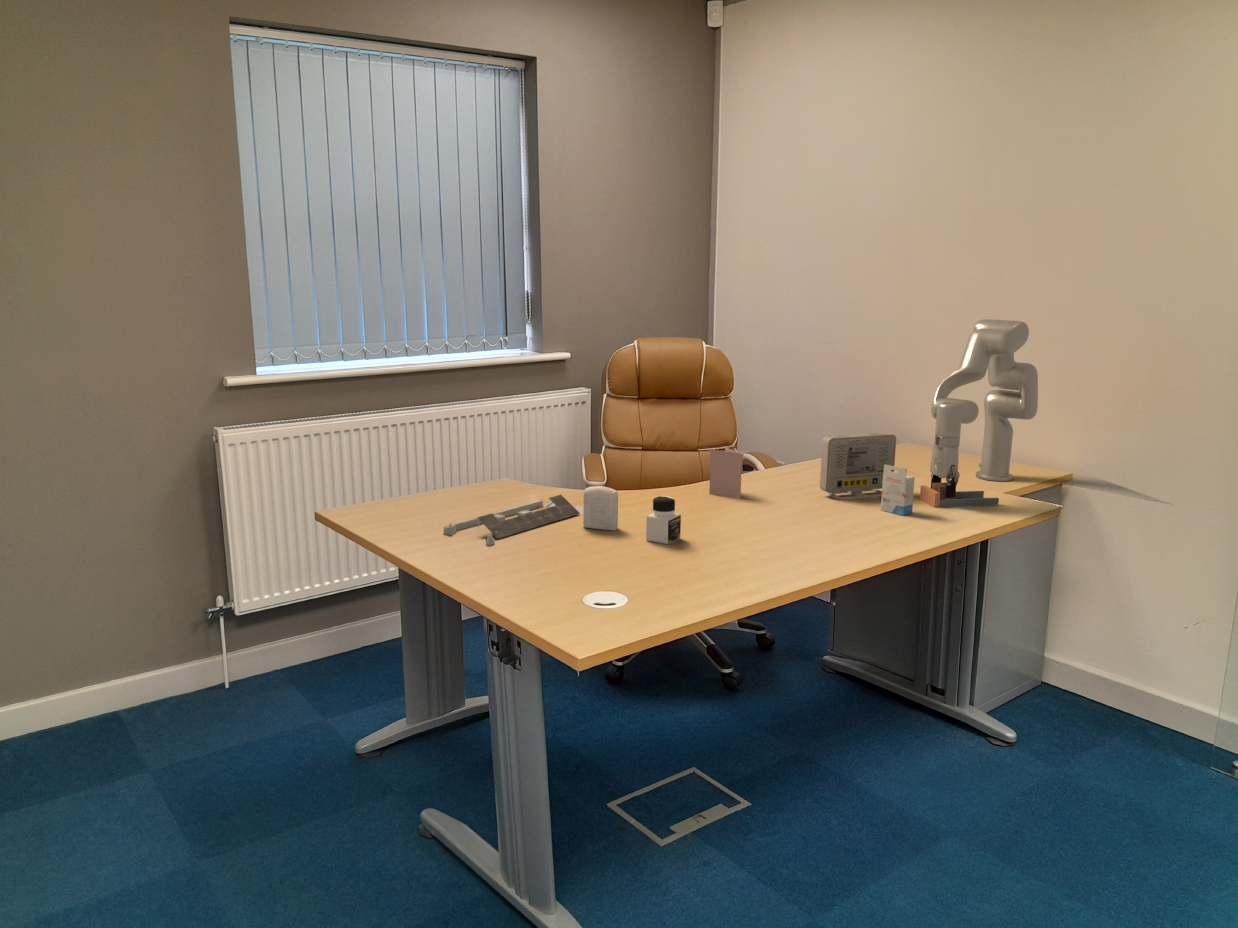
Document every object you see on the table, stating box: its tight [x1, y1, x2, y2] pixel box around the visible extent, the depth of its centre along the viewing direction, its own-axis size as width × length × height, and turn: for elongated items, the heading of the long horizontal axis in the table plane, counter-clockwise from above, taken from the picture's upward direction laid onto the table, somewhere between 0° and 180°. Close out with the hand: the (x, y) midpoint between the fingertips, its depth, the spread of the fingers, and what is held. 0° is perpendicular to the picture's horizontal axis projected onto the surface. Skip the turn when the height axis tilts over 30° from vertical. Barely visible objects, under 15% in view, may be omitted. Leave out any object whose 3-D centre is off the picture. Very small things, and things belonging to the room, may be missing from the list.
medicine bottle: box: [645, 495, 682, 545], centre depth 255 cm, size 7×7×12 cm
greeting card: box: [708, 446, 743, 499], centre depth 303 cm, size 11×7×15 cm, turn 22°
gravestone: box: [582, 485, 619, 531], centre depth 265 cm, size 10×4×12 cm, turn 72°
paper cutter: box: [443, 494, 584, 546], centre depth 271 cm, size 18×45×6 cm, turn 140°
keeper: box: [932, 482, 954, 499], centre depth 296 cm, size 5×5×6 cm
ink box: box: [880, 465, 916, 516], centre depth 284 cm, size 8×5×15 cm, turn 39°
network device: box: [819, 432, 897, 500], centre depth 304 cm, size 26×9×20 cm, turn 108°
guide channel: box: [919, 485, 1000, 508], centre depth 297 cm, size 10×22×4 cm, turn 98°
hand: (942, 493), depth 296 cm, fingers open, 9 cm apart
